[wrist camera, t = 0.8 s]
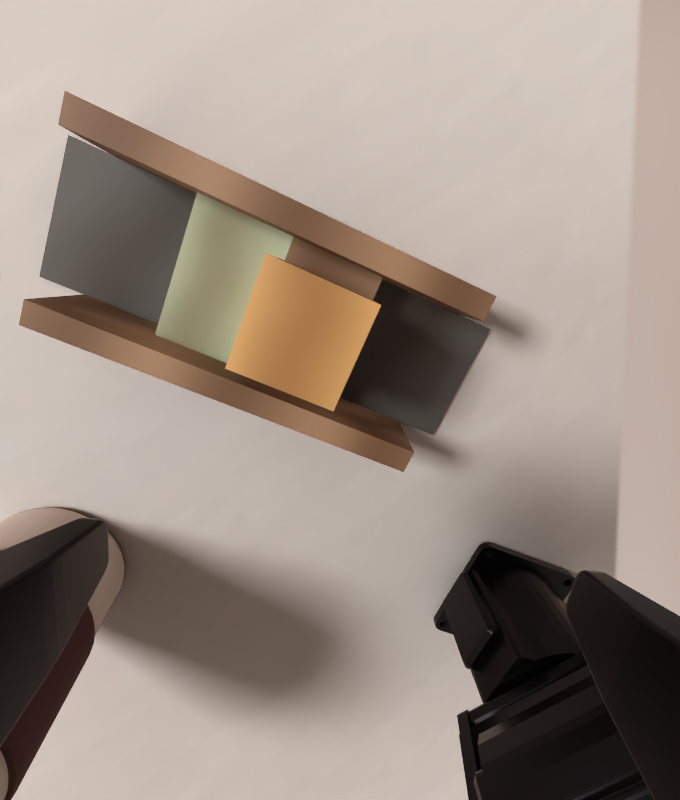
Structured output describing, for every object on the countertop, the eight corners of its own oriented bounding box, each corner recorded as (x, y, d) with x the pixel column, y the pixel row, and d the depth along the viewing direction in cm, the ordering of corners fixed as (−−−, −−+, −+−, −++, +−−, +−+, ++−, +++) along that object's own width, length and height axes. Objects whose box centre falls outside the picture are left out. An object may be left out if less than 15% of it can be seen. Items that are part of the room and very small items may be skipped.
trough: (497, 309, 19) (540, 317, 15) (422, 449, 21) (444, 487, 17) (76, 111, 16) (-2, 59, 12) (38, 297, 18) (-39, 302, 14)
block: (368, 298, 17) (381, 305, 13) (331, 382, 18) (333, 411, 14) (279, 258, 16) (266, 253, 12) (247, 347, 17) (225, 368, 13)
